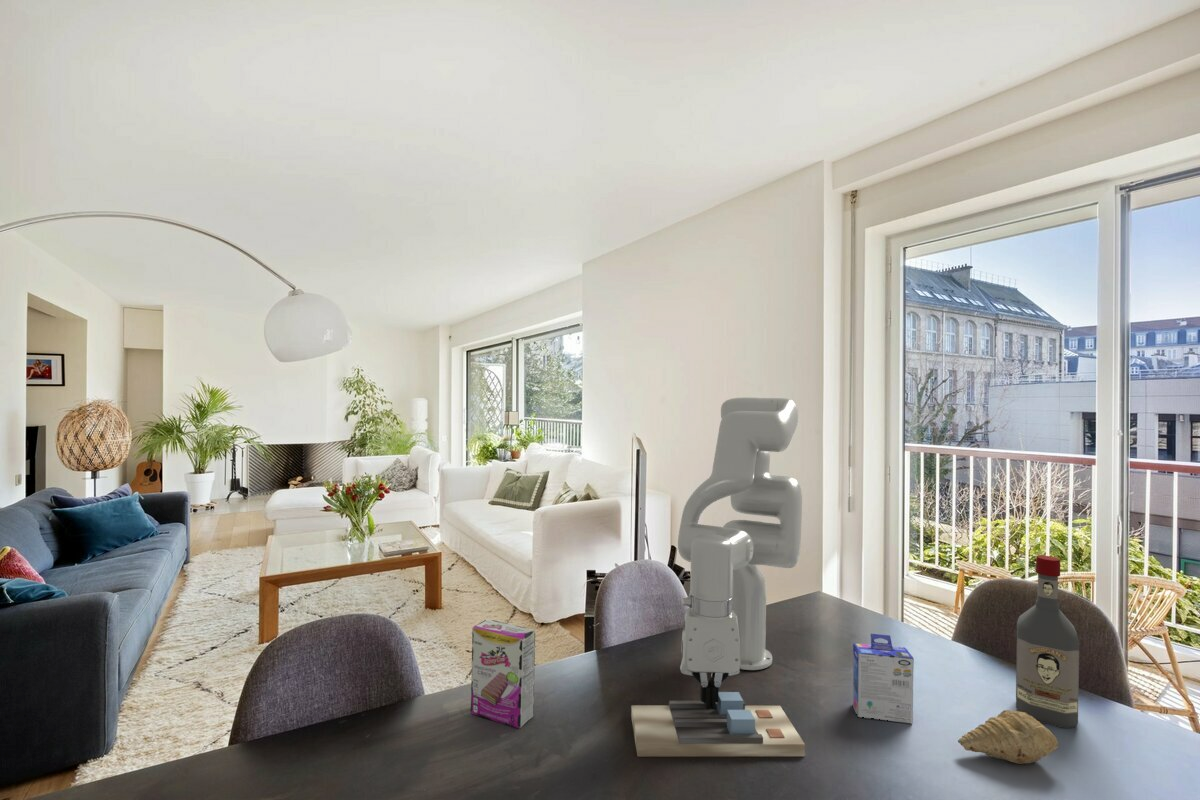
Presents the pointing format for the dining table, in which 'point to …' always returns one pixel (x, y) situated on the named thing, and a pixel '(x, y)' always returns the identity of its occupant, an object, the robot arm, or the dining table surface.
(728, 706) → the tab
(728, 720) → the tab
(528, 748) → the dining table surface
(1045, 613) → the liquor
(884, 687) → the ink cartridge box
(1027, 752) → the seashell
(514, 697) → the candy bar box
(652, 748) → the switch board
